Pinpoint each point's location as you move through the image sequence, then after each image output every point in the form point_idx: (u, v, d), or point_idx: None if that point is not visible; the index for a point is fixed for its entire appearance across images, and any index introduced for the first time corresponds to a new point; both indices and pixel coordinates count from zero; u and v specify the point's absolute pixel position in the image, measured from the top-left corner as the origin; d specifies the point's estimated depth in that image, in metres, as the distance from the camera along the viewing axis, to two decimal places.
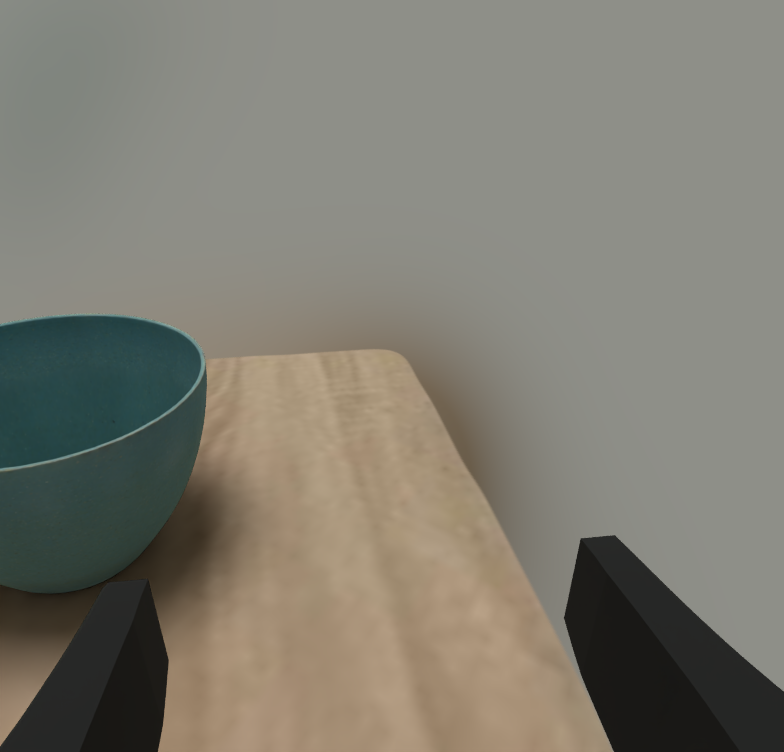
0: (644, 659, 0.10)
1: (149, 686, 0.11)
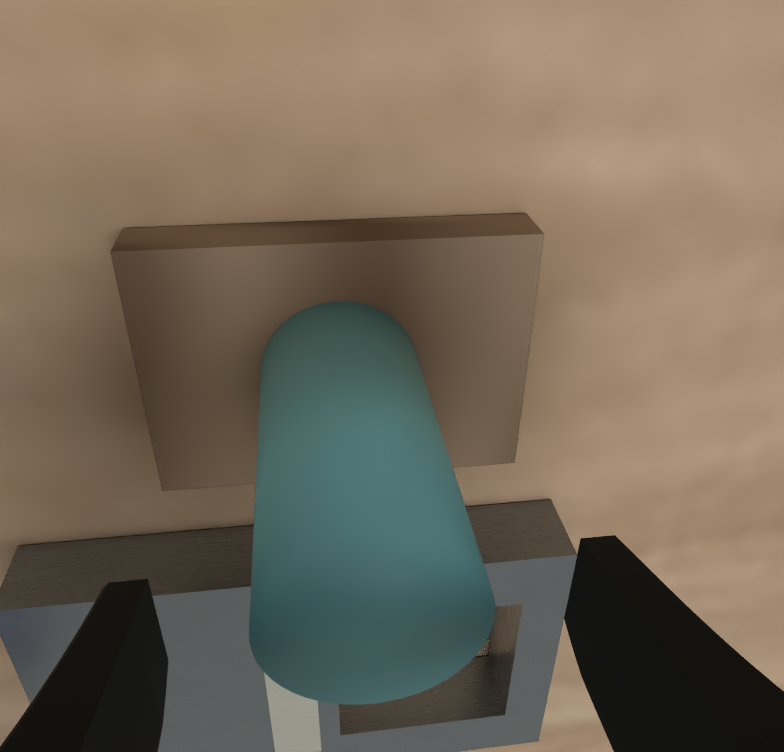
0: (644, 659, 0.10)
1: (149, 686, 0.11)
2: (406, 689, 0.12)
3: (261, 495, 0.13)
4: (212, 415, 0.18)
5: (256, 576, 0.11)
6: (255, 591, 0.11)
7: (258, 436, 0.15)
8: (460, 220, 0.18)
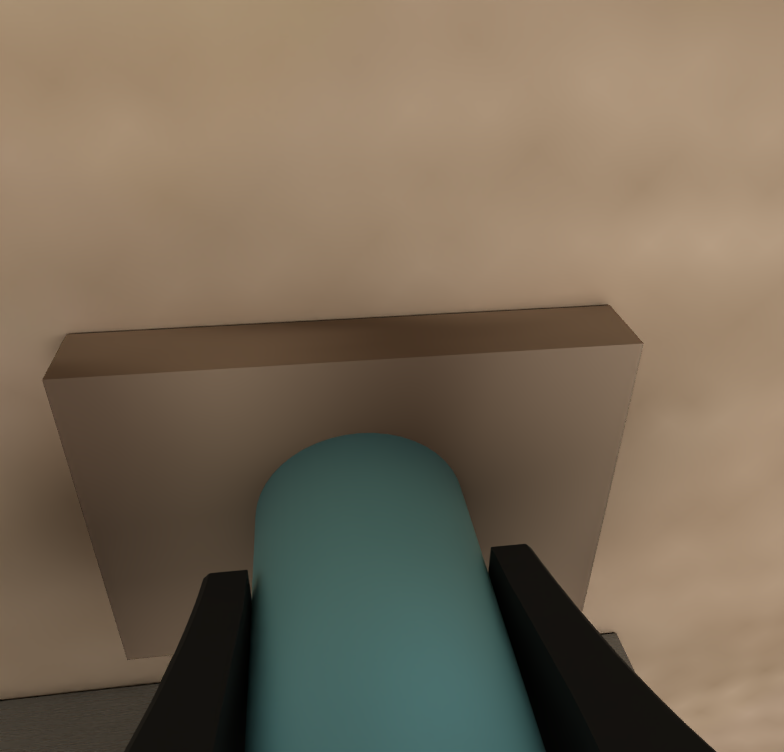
0: (538, 671, 0.10)
1: None
2: None
3: None
4: (191, 573, 0.14)
5: None
6: None
7: (250, 652, 0.10)
8: (524, 318, 0.13)
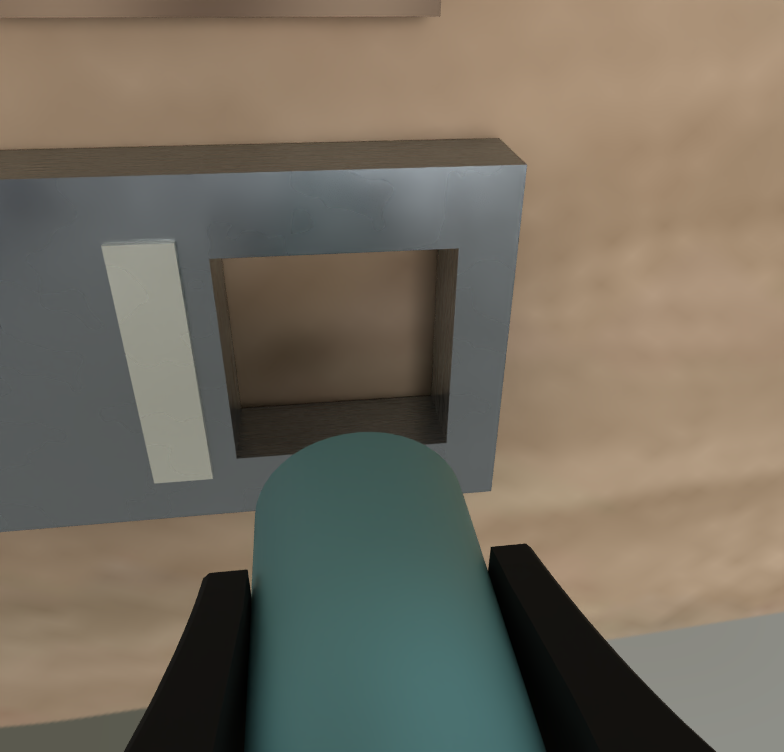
0: (538, 671, 0.10)
1: None
2: None
3: None
4: None
5: None
6: None
7: (249, 651, 0.10)
8: None
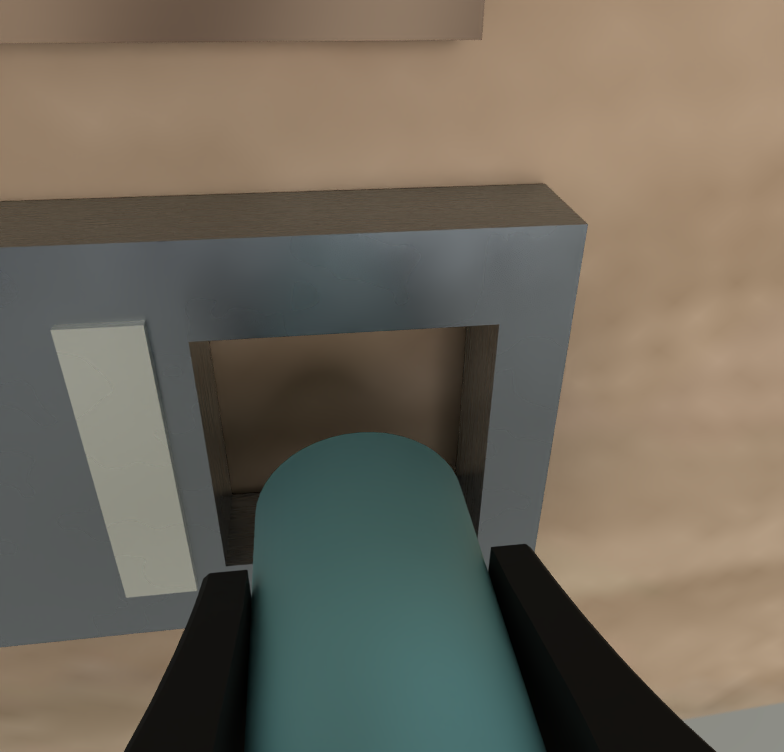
0: (538, 671, 0.10)
1: None
2: None
3: None
4: None
5: None
6: None
7: (249, 652, 0.10)
8: None
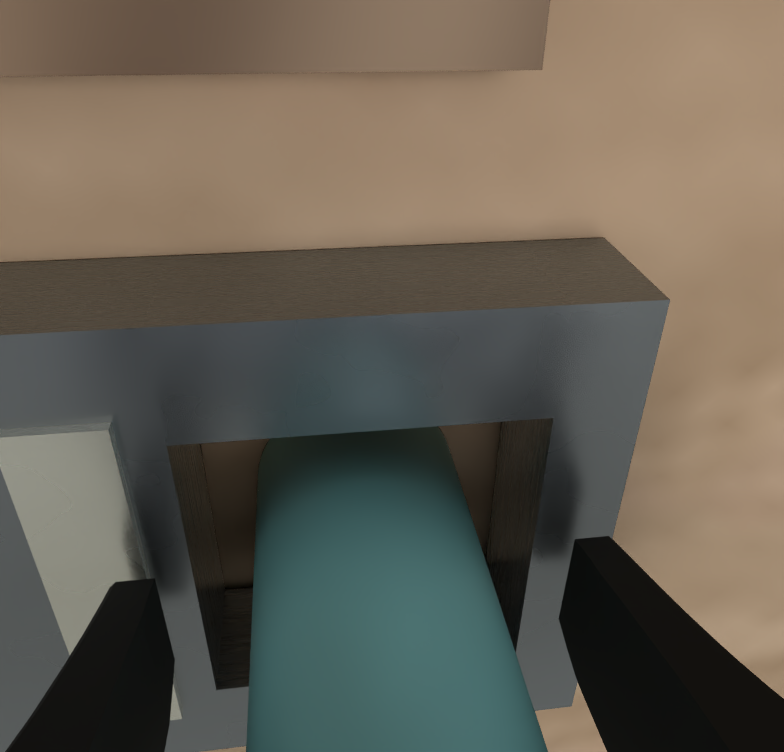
0: (637, 660, 0.10)
1: (156, 685, 0.11)
2: None
3: (256, 707, 0.09)
4: None
5: None
6: None
7: (253, 588, 0.11)
8: None
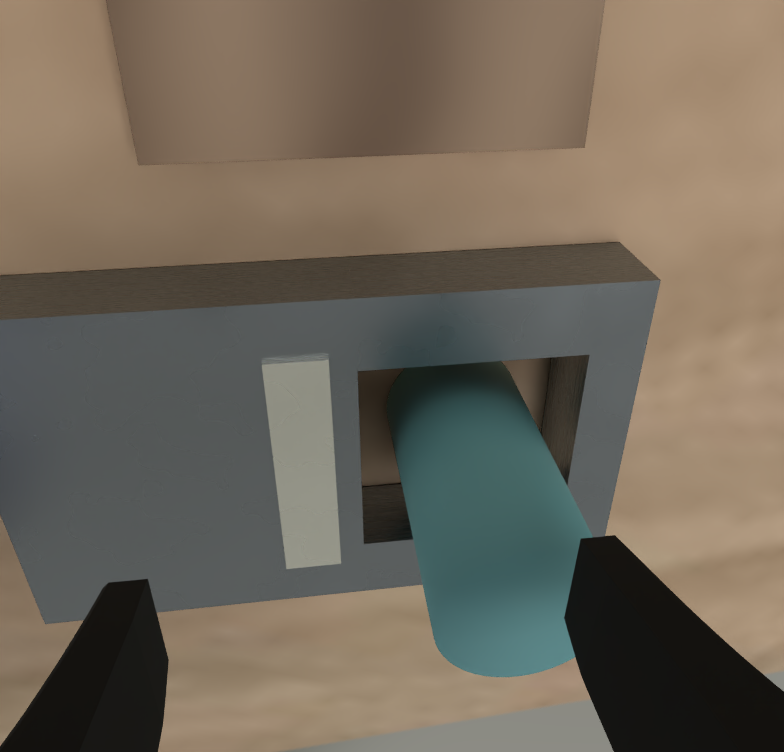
0: (644, 659, 0.10)
1: (149, 686, 0.11)
2: (543, 665, 0.16)
3: (424, 513, 0.16)
4: (200, 41, 0.14)
5: (436, 578, 0.15)
6: (438, 589, 0.14)
7: (402, 463, 0.18)
8: None
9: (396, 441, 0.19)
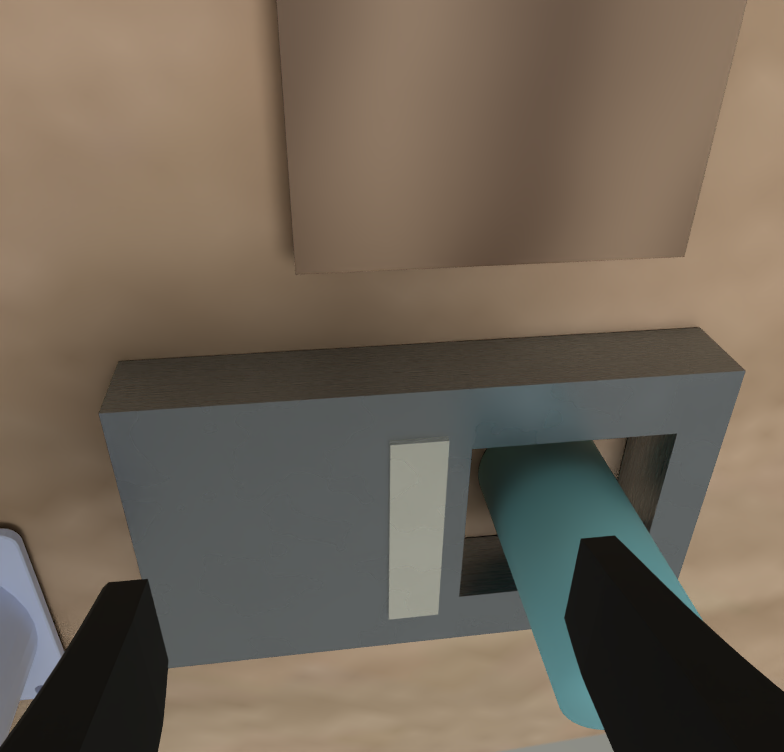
0: (644, 659, 0.10)
1: (149, 686, 0.11)
2: None
3: (539, 582, 0.18)
4: (362, 174, 0.16)
5: (560, 645, 0.17)
6: (564, 656, 0.16)
7: (506, 529, 0.20)
8: None
9: (495, 506, 0.21)
